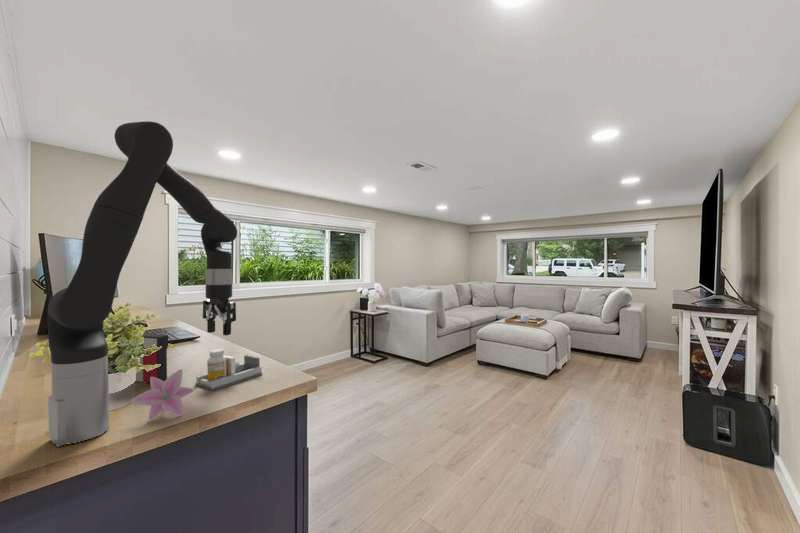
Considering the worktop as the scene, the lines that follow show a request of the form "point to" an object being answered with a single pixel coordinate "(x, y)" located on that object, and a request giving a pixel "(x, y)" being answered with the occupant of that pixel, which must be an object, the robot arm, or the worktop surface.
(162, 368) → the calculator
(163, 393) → the lily
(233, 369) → the spring paddle
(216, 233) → the robot arm
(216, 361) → the supplement bottle
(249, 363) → the pusher lane
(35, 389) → the worktop surface
